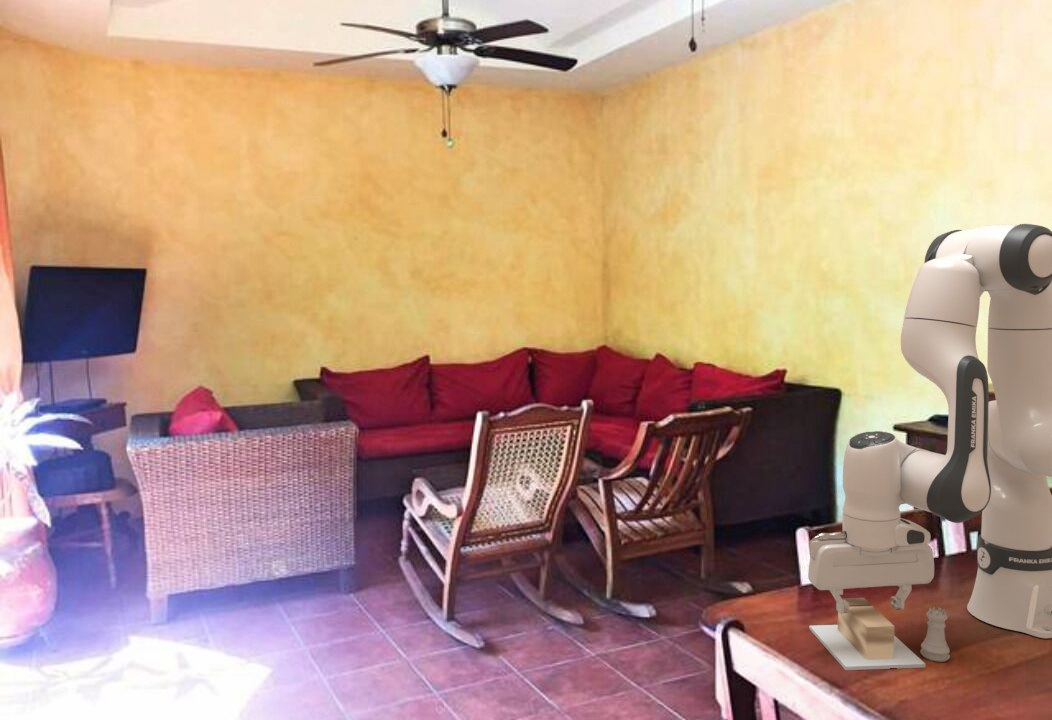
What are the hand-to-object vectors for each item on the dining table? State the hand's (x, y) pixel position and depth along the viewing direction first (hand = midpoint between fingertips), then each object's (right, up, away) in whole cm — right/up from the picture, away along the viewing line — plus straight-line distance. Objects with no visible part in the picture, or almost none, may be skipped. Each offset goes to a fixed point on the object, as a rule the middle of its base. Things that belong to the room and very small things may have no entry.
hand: (870, 610), depth 138 cm
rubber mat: (-1, -7, +1) cm, 7 cm away
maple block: (-1, -6, +1) cm, 6 cm away
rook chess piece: (+10, -7, -3) cm, 12 cm away
